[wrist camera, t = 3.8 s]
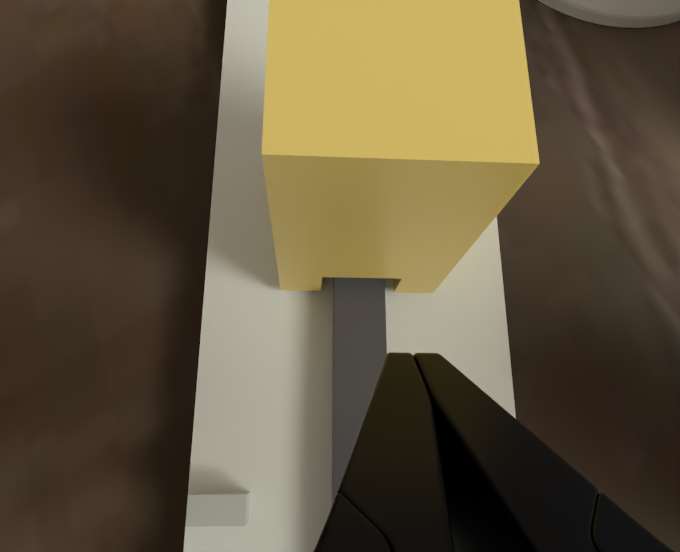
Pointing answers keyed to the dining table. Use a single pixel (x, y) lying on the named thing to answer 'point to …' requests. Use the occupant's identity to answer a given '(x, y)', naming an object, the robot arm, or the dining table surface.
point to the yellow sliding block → (391, 135)
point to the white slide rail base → (302, 342)
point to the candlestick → (620, 11)
